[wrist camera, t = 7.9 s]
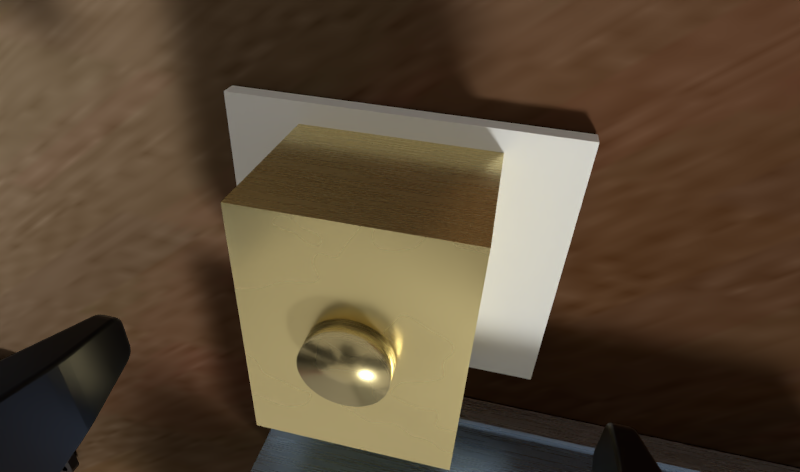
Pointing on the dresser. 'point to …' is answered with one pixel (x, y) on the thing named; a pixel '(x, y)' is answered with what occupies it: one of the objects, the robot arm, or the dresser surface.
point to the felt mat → (515, 213)
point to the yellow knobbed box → (362, 286)
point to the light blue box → (499, 448)
